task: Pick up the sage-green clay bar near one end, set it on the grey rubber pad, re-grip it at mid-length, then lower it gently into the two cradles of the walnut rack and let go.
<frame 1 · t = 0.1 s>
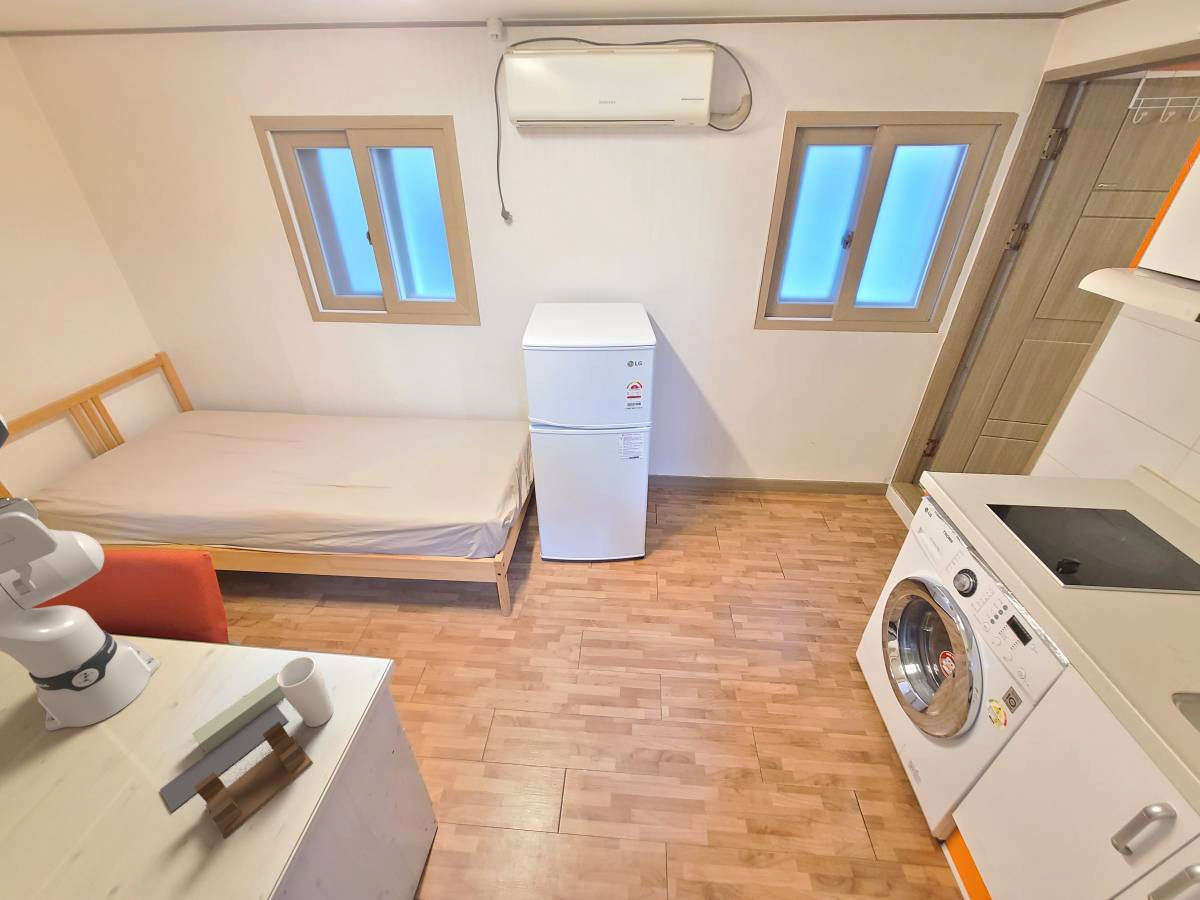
clay strip: (248, 717, 101), on the table
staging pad: (228, 753, 94), on the table
drinking glass: (320, 716, 101), on the table
rack: (261, 784, 90), on the table
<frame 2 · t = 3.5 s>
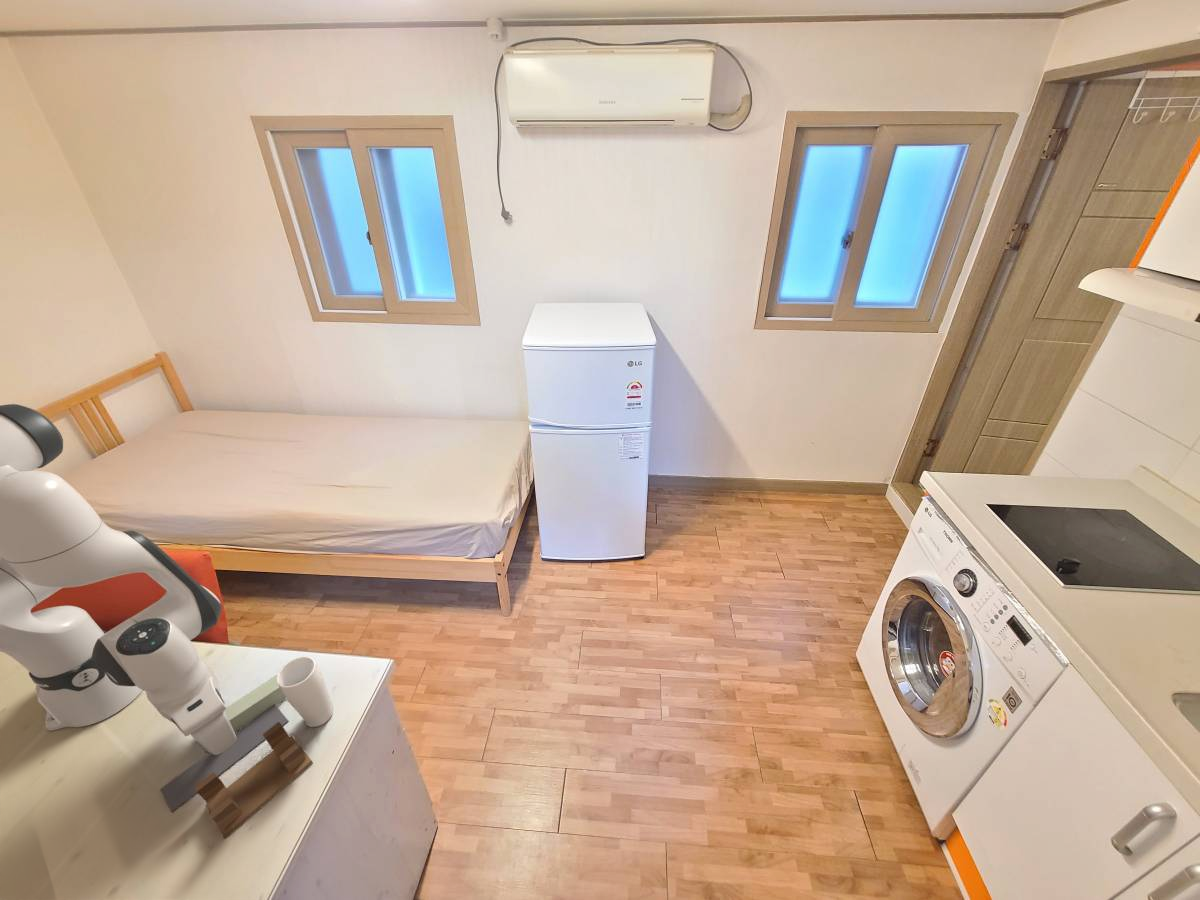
hand: (217, 731, 96), 2 cm above the table, fingers open, 4 cm apart
clay strip: (248, 716, 101), on the table, touching gripper
everything else where it was.
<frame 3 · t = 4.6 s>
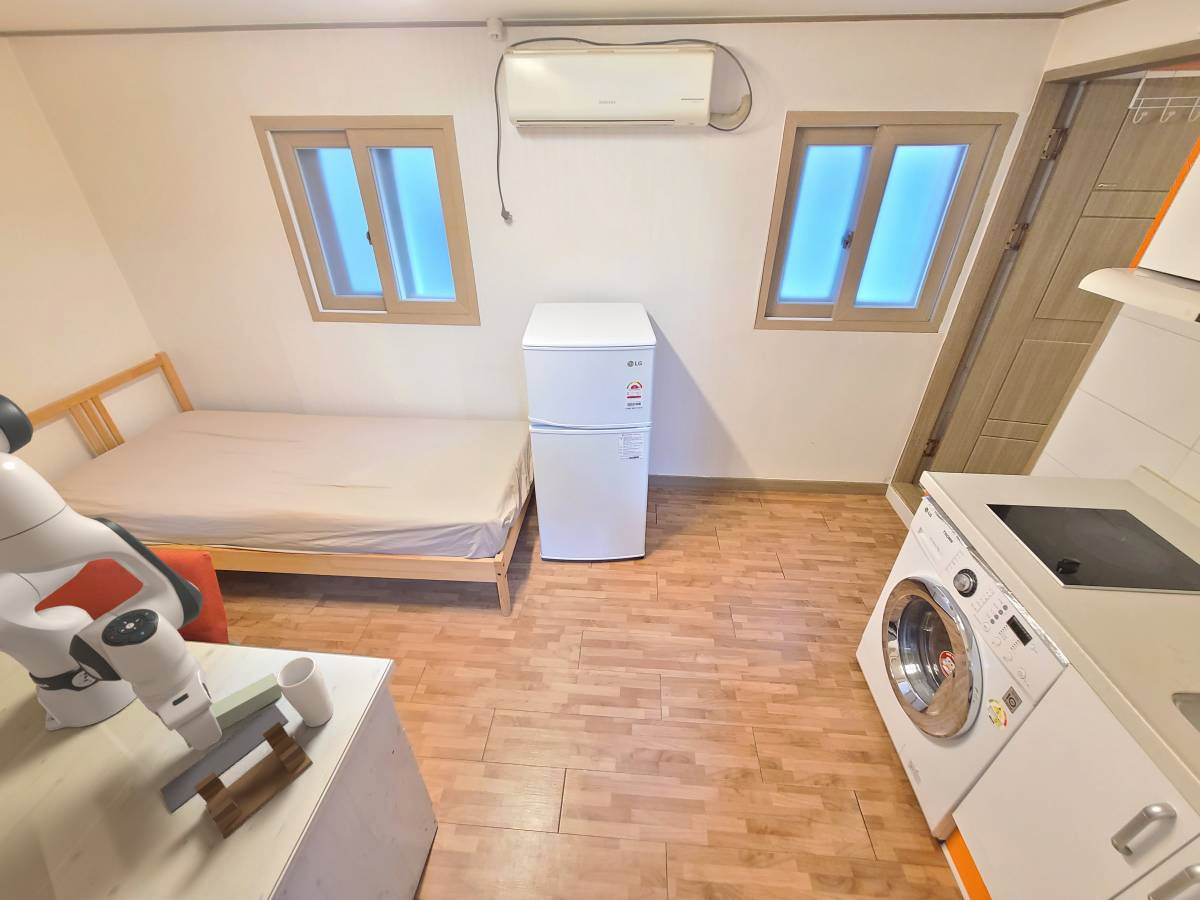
hand: (203, 725, 94), 5 cm above the table, fingers closed on clay strip, 3 cm apart
clay strip: (235, 715, 99), point 2 cm above the table, tilted 12°, touching gripper
everything else where it was.
when the fingers open (5 cm above the table, at t = 17.5 s): clay strip stays where it is, resting on rack.
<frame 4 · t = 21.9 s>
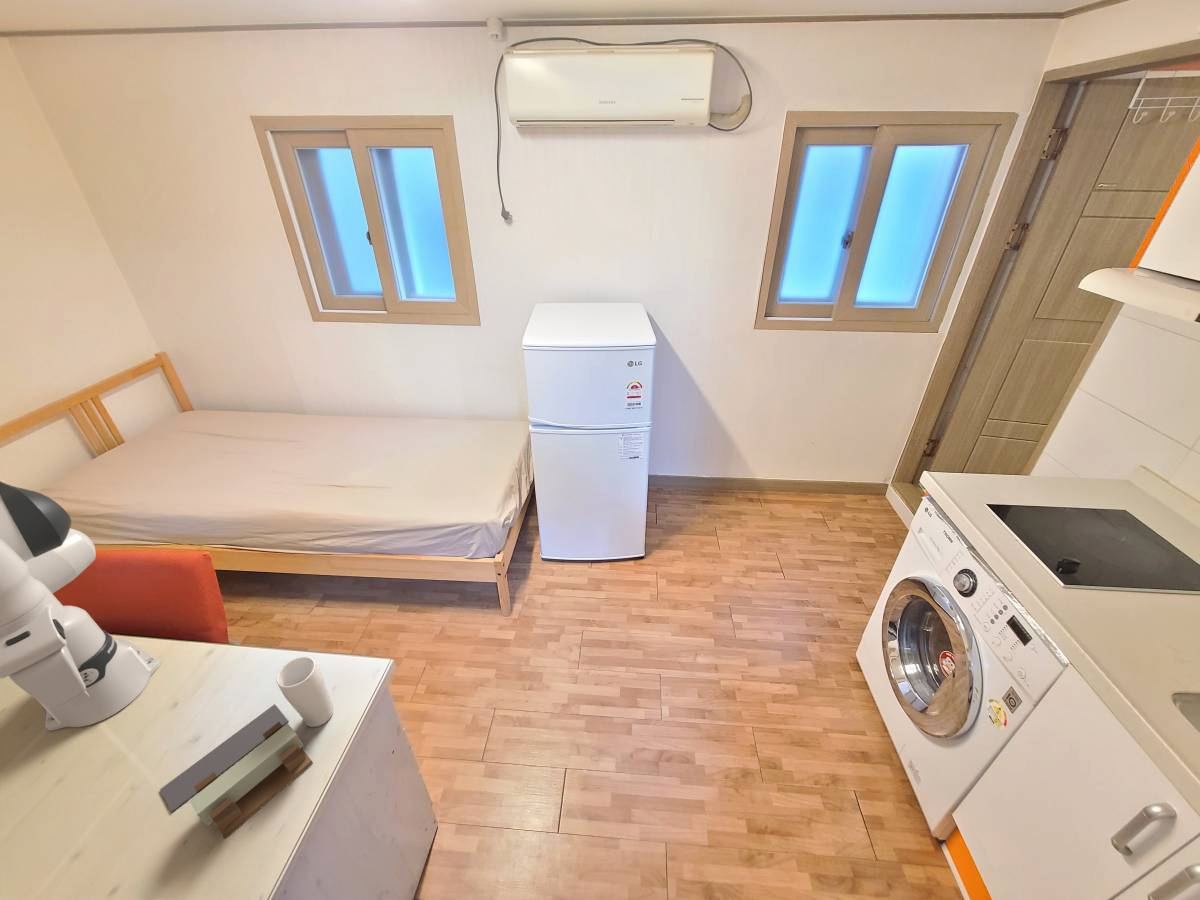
hand: (74, 682, 74), 31 cm above the table, fingers open, 8 cm apart
clay strip: (254, 776, 88), point 3 cm above the table, touching rack
everything else where it was.
at the end: clay strip 0.2 cm off-centre on the rack, point 3.0 cm above the rack's base; clay strip tilted 0°; the gripper is holding nothing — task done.
